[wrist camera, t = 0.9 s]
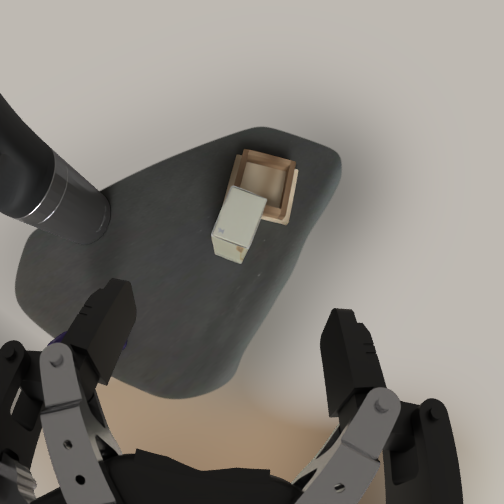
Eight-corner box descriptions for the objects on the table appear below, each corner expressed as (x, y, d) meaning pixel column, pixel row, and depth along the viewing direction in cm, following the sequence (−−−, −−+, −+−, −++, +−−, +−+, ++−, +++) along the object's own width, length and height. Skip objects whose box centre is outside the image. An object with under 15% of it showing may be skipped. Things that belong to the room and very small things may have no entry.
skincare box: (241, 264, 40) (248, 253, 28) (213, 254, 40) (208, 238, 28) (256, 224, 41) (269, 197, 29) (229, 214, 41) (231, 183, 29)
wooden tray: (222, 209, 41) (222, 201, 37) (236, 158, 42) (237, 146, 38) (286, 225, 41) (292, 218, 37) (296, 173, 43) (302, 163, 39)
